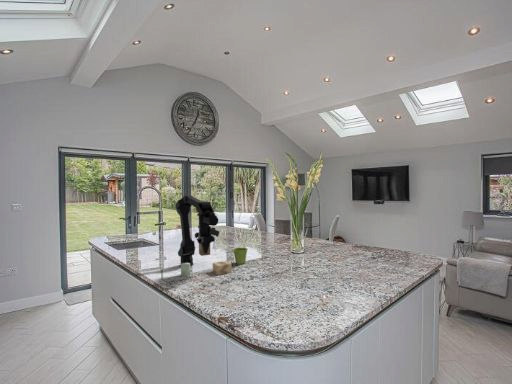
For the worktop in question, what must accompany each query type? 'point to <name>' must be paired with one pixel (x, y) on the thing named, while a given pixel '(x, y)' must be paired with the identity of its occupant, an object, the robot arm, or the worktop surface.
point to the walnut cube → (201, 250)
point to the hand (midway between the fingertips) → (204, 252)
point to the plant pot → (240, 255)
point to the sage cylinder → (185, 269)
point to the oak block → (222, 267)
